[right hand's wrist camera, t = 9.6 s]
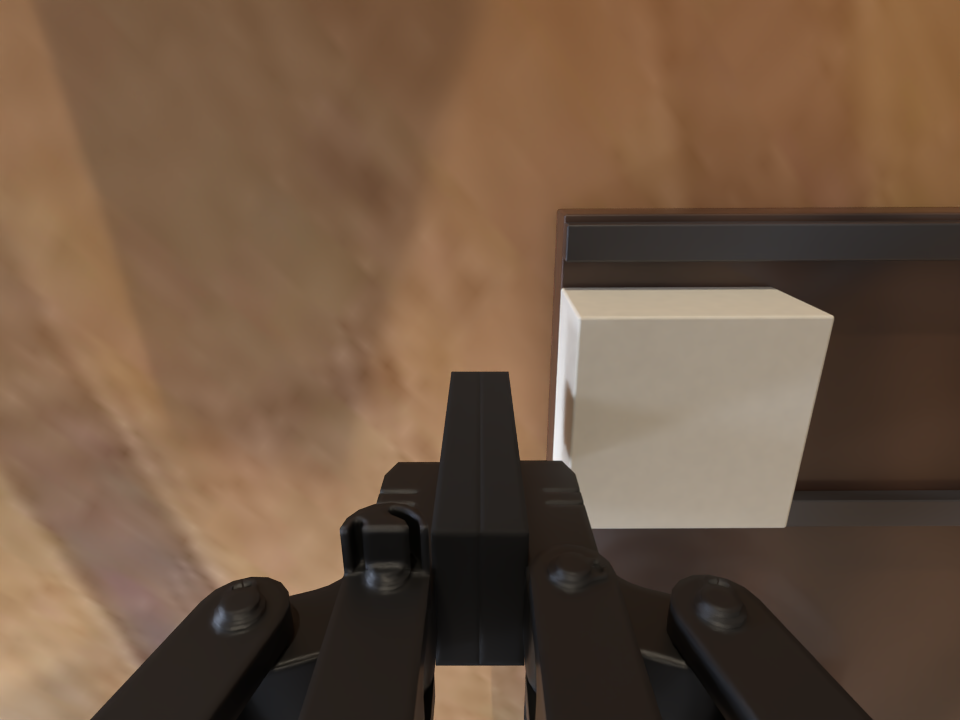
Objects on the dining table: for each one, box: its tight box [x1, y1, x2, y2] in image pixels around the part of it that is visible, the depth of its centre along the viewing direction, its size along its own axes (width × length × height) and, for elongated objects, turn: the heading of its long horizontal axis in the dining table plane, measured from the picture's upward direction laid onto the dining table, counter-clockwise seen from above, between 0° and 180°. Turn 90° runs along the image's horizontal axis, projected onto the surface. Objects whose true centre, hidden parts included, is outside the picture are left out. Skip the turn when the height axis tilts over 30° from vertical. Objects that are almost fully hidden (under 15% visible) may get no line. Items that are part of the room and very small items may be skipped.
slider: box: [553, 287, 834, 529], centre depth 15 cm, size 6×6×3 cm
